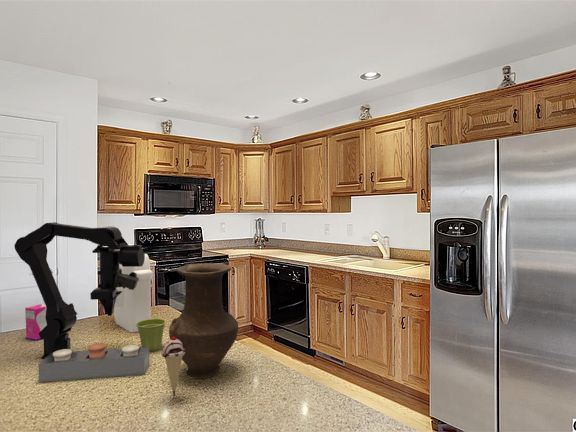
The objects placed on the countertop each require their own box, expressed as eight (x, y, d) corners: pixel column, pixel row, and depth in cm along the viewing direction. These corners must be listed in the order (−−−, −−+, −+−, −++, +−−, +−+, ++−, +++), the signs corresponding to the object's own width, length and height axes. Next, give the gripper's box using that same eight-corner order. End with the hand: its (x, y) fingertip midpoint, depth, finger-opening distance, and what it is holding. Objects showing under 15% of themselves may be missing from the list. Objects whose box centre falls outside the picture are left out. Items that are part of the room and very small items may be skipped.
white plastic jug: (102, 321, 159) (101, 249, 159) (129, 316, 167) (129, 247, 166) (126, 338, 139) (126, 255, 139) (156, 331, 147) (156, 252, 146)
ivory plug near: (50, 378, 106) (50, 355, 105) (57, 371, 110) (56, 349, 110) (68, 377, 106) (68, 354, 106) (74, 370, 111) (74, 348, 111)
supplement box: (41, 334, 144) (41, 303, 144) (51, 336, 141) (51, 305, 141) (25, 339, 139) (24, 307, 138) (35, 341, 136) (35, 308, 136)
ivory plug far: (120, 373, 109) (120, 351, 109) (124, 366, 113) (123, 345, 113) (137, 372, 110) (137, 349, 110) (140, 365, 114) (140, 344, 114)
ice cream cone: (172, 405, 91) (172, 342, 91) (156, 398, 94) (156, 337, 94) (190, 395, 96) (190, 335, 96) (174, 389, 99) (174, 331, 99)
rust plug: (85, 371, 107) (85, 349, 107) (91, 365, 112) (90, 343, 112) (103, 370, 108) (103, 348, 108) (108, 364, 113) (107, 342, 112)
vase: (164, 389, 99) (163, 273, 99) (174, 360, 118) (173, 262, 118) (239, 384, 102) (239, 271, 102) (237, 356, 121) (237, 261, 121)
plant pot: (147, 355, 122) (146, 328, 122) (130, 349, 128) (130, 323, 128) (172, 347, 130) (171, 321, 130) (155, 341, 135) (155, 317, 135)
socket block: (38, 382, 104) (38, 364, 103) (51, 370, 111) (51, 353, 111) (144, 374, 108) (144, 356, 108) (149, 363, 116) (149, 346, 116)
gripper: (129, 270, 115) (130, 322, 116) (141, 262, 134) (142, 307, 134) (89, 271, 113) (90, 324, 114) (107, 262, 132) (108, 308, 132)
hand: (110, 315), depth 123 cm, fingers closed
